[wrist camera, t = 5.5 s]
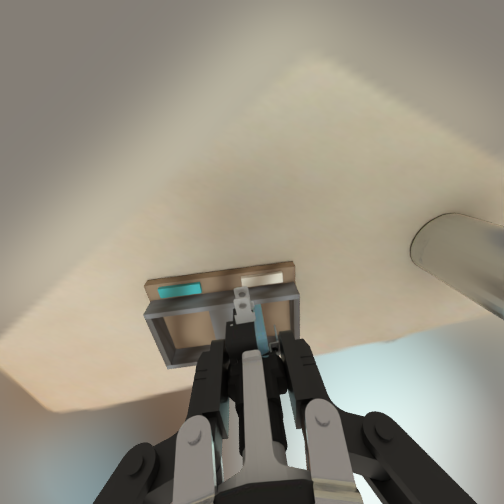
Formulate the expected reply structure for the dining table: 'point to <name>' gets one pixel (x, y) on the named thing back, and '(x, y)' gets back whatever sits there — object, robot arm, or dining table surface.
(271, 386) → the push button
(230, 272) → the dock
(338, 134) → the dining table surface
